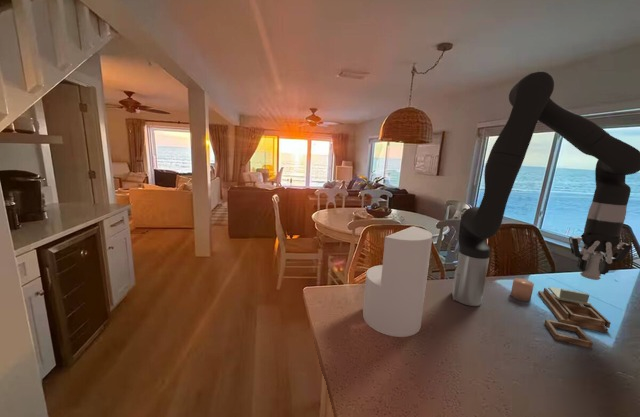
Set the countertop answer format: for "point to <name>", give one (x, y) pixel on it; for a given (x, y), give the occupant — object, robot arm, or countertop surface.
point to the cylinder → (398, 284)
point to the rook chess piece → (593, 267)
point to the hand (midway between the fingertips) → (591, 271)
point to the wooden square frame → (583, 341)
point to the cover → (570, 295)
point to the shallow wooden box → (575, 313)
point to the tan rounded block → (522, 289)
